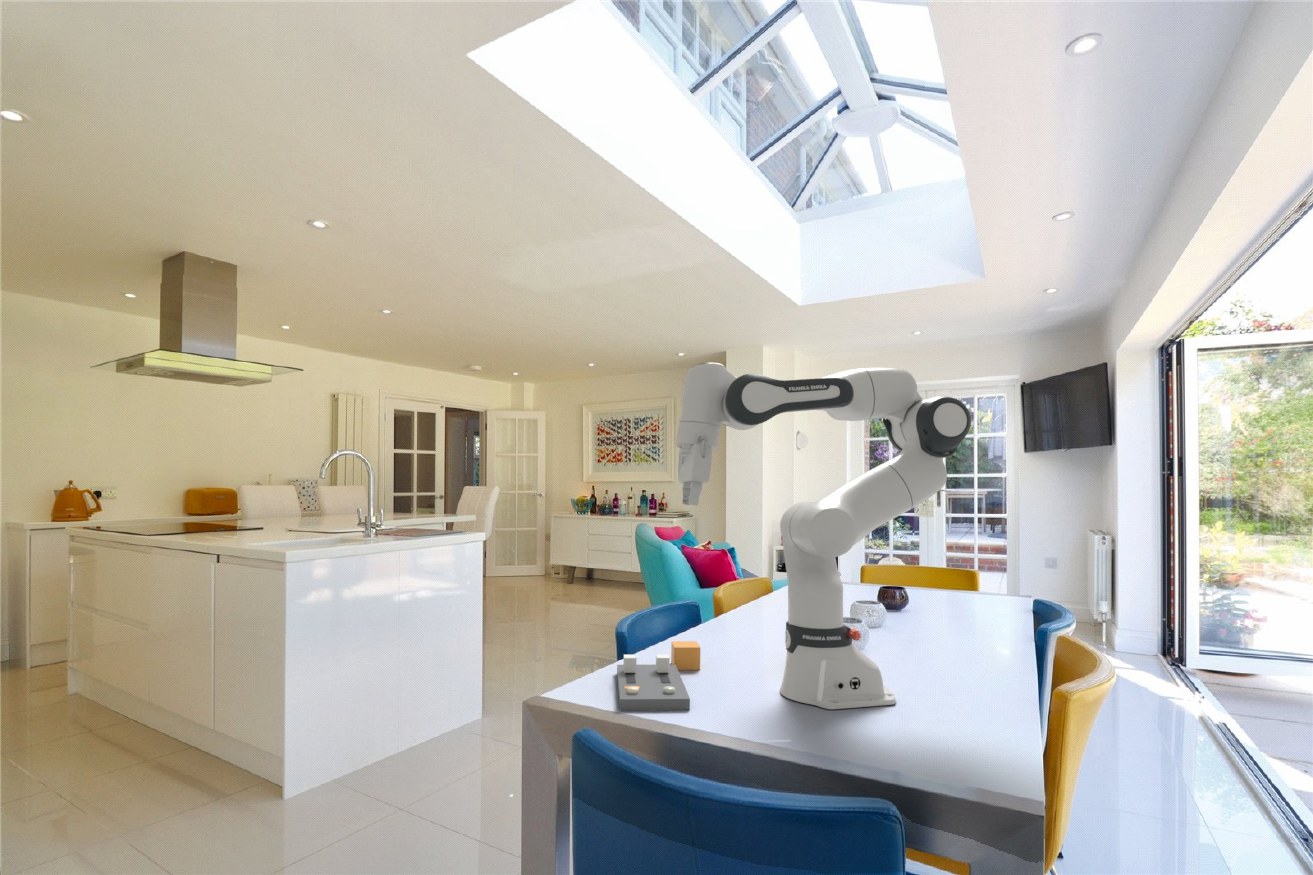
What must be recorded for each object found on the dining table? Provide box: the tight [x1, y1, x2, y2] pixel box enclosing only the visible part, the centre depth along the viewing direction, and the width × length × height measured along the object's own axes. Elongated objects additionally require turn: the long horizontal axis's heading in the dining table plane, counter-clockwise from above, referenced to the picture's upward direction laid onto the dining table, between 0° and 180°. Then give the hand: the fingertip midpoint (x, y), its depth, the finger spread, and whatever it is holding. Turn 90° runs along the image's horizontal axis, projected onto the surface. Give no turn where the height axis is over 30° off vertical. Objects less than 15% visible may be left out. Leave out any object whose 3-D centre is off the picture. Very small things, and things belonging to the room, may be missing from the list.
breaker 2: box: [655, 653, 670, 673], centre depth 139 cm, size 3×3×3 cm
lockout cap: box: [670, 640, 701, 671], centre depth 152 cm, size 6×6×5 cm
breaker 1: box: [622, 654, 637, 673], centre depth 139 cm, size 3×3×3 cm
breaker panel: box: [616, 664, 691, 711], centre depth 133 cm, size 13×24×3 cm, turn 5°
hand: (689, 504), depth 135 cm, fingers open, 8 cm apart
